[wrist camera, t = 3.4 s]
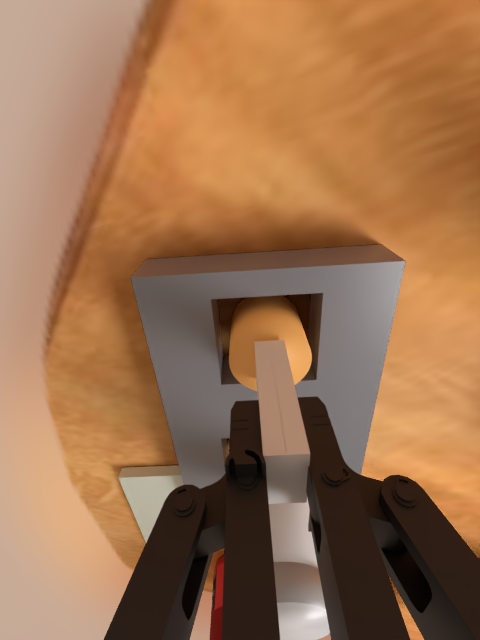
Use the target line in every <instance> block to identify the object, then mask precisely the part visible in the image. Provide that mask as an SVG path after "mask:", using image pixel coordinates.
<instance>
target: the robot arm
mask: <svg viewBox="0 0 480 640" xmlns="http://www.w3.org/2000/svg"><path fill="white" fill-rule="evenodd" d="M254 343H255V363H256V383H257V397H258V400H249V401H236V402H235V403H234V405H233V407H232V409H231V416H230V448H229V455H228V456H227V458H226V461H225V472H226V473H225V474H224V476H223V477H222V478H221V479H220V480H219V481H217V482H215V483H213V484H211V485H209V486H206V487H203V488H201V489H199V487H196V486H194V485H182V486H179V487H177V488H175V489H174V490H173V491H172V492H170V494H169V495H168V497H167V498H166V500H165V502H164V504H163V506H162V508H161V511H160V513H159V515H158V518H157V520H156V522H155V524H154V527H153V529H152V531H151V533H150V536H149V538H148V540H147V542H146V545H145V547H144V549H143V552H142V554H141V556H140V558H139V561H138V563H137V565H136V567H135V570H134V572H133V574H132V577H131V579H130V581H129V583H128V586H127V588H126V590H125V593H124V595H123V597H122V599H121V602H120V604H119V606H118V608H117V611H116V613H115V615H114V617H113V620H112V622H111V624H110V627H109V629H108V631H107V633H106V636H105V638H104V640H189V639H190V636H191V632H192V628H193V625H194V621H195V617H196V614H197V610H198V606H199V602H200V598H201V595H202V591H203V588H204V584H205V580H206V576H207V573H208V569H209V565H210V562H211V558H212V554H213V552H216V551H218V550H220V549H222V548H224V577H223V607H222V637H221V640H280V631H279V620H278V608H277V596H276V584H275V573H274V561H273V549H272V537H271V526H270V514H269V504H280V503H306V502H307V498H308V504H309V509H310V511H309V522H308V532H312V537H313V543H314V548H315V554H316V559H317V565H318V570H319V575H320V581H321V586H322V592H323V597H324V603H325V608H326V613H327V619H328V624H329V630H330V635H331V640H410V638H409V635H408V632H407V629H406V626H405V623H404V620H403V617H402V614H401V611H400V608H399V606H398V603H397V600H396V597H395V594H394V591H393V588H392V585H391V582H390V579H389V576H390V578H391V580H392V581H393V583H394V585H395V587H396V589H397V590H398V592H399V594H400V596H401V598H402V599H403V601H404V603H405V605H406V607H407V609H408V610H409V612H410V614H411V616H412V618H413V619H414V621H415V623H416V625H417V627H418V628H419V630H420V632H421V634H422V636H423V637H424V639H425V640H480V560H479V559H478V558H477V556H476V555H475V554H474V553H473V551H472V550H471V549H470V548H469V546H468V545H467V544H466V543H465V541H464V540H463V539H462V538H461V536H460V535H459V534H458V532H457V531H456V530H455V529H454V527H453V526H452V525H451V524H450V522H449V521H448V520H447V519H446V517H445V516H444V515H443V514H442V512H441V511H440V510H439V509H438V507H437V506H436V505H435V503H434V502H433V501H432V500H431V498H430V497H429V496H428V495H427V493H426V492H425V491H424V490H423V489H422V488H421V487H420V486H419V485H418V484H417V483H416V482H415V481H413V480H411V479H409V478H408V477H405V476H401V475H391V476H389V477H387V478H385V479H384V481H379V480H375V479H372V478H368V477H365V476H362V475H360V474H358V473H356V472H354V471H353V470H352V469H351V468H350V467H349V466H348V465H347V464H346V463H345V461H344V459H343V457H342V454H341V451H340V448H339V445H338V442H337V439H336V436H335V433H334V430H333V427H332V424H331V421H330V418H329V415H328V412H327V409H326V406H325V404H324V403H323V402H322V401H321V400H320V399H319V397H318V396H315V397H297V394H296V390H295V385H294V381H293V377H292V372H291V368H290V364H289V359H288V355H287V351H286V346H285V342H284V340H271V341H254ZM386 570H387V571H386ZM387 572H388V574H389V576H388V574H387Z"/></svg>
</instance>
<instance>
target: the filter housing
mask: <svg viewBox="0 0 480 640" xmlns="http://www.w3.org/2000/svg"><path fill="white" fill-rule="evenodd" d="M404 266H405V260H403V259H402V258H401V257H399V256H398V255H396V254H395V253H393V252H392V251H390V250H389V249H387V248H386V247H385V246H383V245H382V244H379V245H363V246H347V247H331V248H315V249H299V250H283V251H267V252H251V253H236V254H220V255H204V256H188V257H172V258H156V259H146V260H145V261H144V262H143V263H142V264H141V266H140V267H139V268H138V269H137V270H136V272H135V273H134V274H133V275H132V276H131V282H132V286H133V290H134V294H135V297H136V301H137V305H138V309H139V313H140V317H141V321H142V325H143V329H144V332H145V336H146V340H147V344H148V348H149V352H150V356H151V360H152V363H153V367H154V371H155V375H156V379H157V383H158V387H159V391H160V395H161V398H162V402H163V406H164V410H165V414H166V418H167V422H168V426H169V430H170V433H171V437H172V441H173V445H174V449H175V453H176V457H177V461H178V465H179V468H180V472H181V476H182V480H183V484H184V485H194V486H196V487H199V489H201V488H203V487H206V486H209V485H211V484H213V483H215V482H217V481H219V480H220V479H221V478H222V477H223V476H224V474H225V473H226V472H225V461H226V458H227V456H228V455H229V452H228V444H227V438H230V416H231V409H232V407H233V405H234V403H235V402H236V401H249V400H258V397H257V391H255V390H252V389H249V388H247V387H245V386H244V385H242V384H241V383H240V382H239V381H238V380H237V379H236V378H235V377H234V376H233V374H232V372H231V369H230V365H229V356H223V348H222V339H221V330H220V321H219V312H218V303H217V299H226V298H244V297H261V296H278V295H295V294H310V313H309V331H308V343H309V346H310V349H311V353H312V362H311V366H310V369H309V371H308V372H307V374H306V375H305V377H304V378H303V379H302V380H301V381H300V382H298V383H297V384H296V385H295V390H296V394H297V397H315V396H318V397H319V399H320V400H321V401H322V402H323V403H324V404H325V406H326V409H327V412H328V415H329V418H330V421H331V424H332V427H333V430H334V433H335V436H336V439H337V442H338V445H339V448H340V451H341V454H342V457H343V459H344V461H345V463H346V464H347V465H348V466H349V467H350V468H351V469H352V470H353V471H354V472H356V473H358V474H360V475H361V470H362V465H363V460H364V456H365V451H366V446H367V441H368V437H369V432H370V427H371V422H372V418H373V413H374V408H375V403H376V399H377V394H378V389H379V384H380V380H381V375H382V370H383V365H384V361H385V356H386V351H387V346H388V342H389V337H390V332H391V327H392V323H393V318H394V313H395V308H396V304H397V299H398V294H399V289H400V285H401V280H402V275H403V270H404Z"/></svg>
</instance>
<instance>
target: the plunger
mask: <svg viewBox="0 0 480 640" xmlns="http://www.w3.org/2000/svg"><path fill="white" fill-rule="evenodd" d="M271 340H284V342H285V346H286V351H287V355H288V359H289V364H290V368H291V372H292V377H293V381H294V385H296V384H297V383H298V382H300V381H301V380H302V379H303V378H304V377H305V375H306V374H307V372H308V371H309V369H310V366H311V362H312V353H311V349H310V346H309V343H308V340H307V337H306V335H305V332H304V329H303V326H302V323H301V320H300V317H299V314H298V312H297V309H296V307H295V306H294V305H293V303H292V302H291V301H290V300H288V299H287V298H286V297H284V296H282V295H278V296H261V297H247V298H245V299H244V300H242V301H241V302H240V303H239V304H238V305H237V307H236V308H235V310H234V312H233V314H232V318H231V331H230V350H229V365H230V369H231V372H232V374H233V376H234V377H235V378H236V379H237V380H238V381H239V382H240V383H241V384H242V385H244V386H245V387H247V388H249V389H252V390H255V391H257V383H256V363H255V343H254V341H271Z"/></svg>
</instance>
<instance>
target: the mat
mask: <svg viewBox="0 0 480 640" xmlns="http://www.w3.org/2000/svg"><path fill="white" fill-rule="evenodd" d="M118 478H119V481H120V483H121V486H122V488H123V490H124V493H125V495H126V497H127V500H128V502H129V504H130V507H131V509H132V511H133V514H134V516H135V518H136V521H137V523H138V526H139V528H140V530H141V533H142V535H143V537H144V540H145V542H147V540H148V538H149V536H150V533H151V531H152V529H153V527H154V524H155V522H156V520H157V518H158V515H159V513H160V511H161V508H162V506H163V504H164V502H165V500H166V498H167V497H168V495H169V494H170V492H172V491H173V490H174V489H175V488H177V487H179V486H182V485H184V484H183V480H182V476H181V472H180V468H179V465H172V466H148V467H124V468H122V469H121V472H120V474H119V477H118Z"/></svg>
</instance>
